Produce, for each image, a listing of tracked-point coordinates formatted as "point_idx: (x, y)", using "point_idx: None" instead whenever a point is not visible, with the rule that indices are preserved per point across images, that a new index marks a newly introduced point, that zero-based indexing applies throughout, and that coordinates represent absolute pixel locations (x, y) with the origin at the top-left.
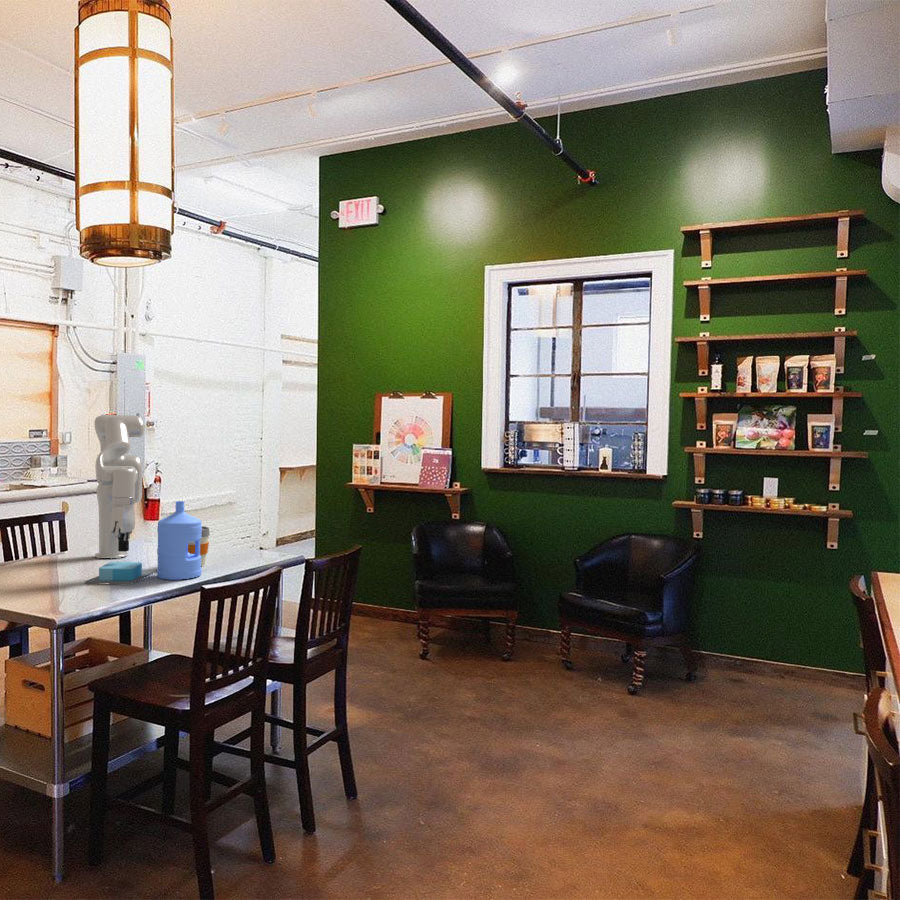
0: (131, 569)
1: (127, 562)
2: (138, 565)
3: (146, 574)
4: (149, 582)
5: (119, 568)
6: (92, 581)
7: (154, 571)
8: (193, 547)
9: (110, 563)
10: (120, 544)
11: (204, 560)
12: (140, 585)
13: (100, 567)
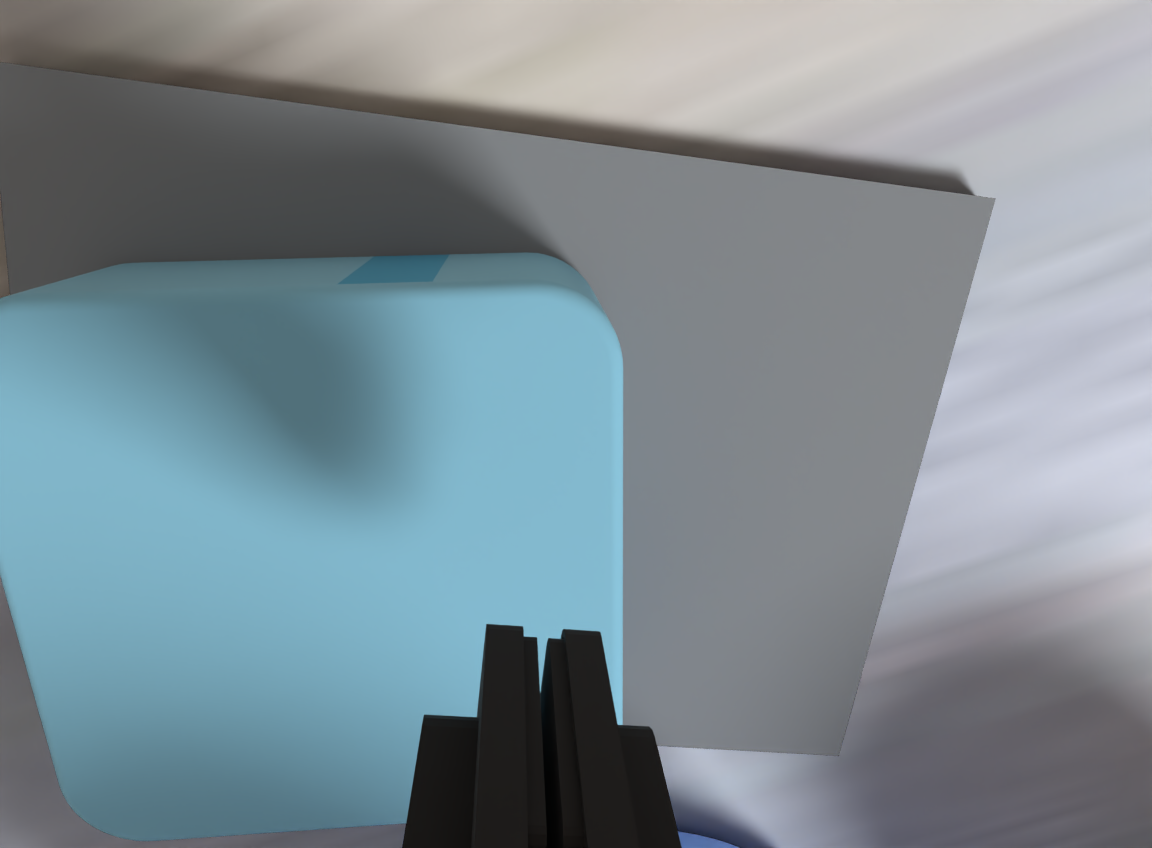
0: (100, 818)
1: (578, 609)
2: (387, 822)
3: None
4: (266, 839)
5: (29, 675)
6: (3, 198)
7: (774, 751)
8: None
9: (452, 358)
10: (411, 830)
11: None
12: None
13: (14, 323)
